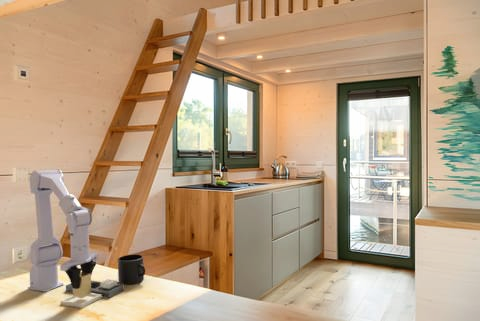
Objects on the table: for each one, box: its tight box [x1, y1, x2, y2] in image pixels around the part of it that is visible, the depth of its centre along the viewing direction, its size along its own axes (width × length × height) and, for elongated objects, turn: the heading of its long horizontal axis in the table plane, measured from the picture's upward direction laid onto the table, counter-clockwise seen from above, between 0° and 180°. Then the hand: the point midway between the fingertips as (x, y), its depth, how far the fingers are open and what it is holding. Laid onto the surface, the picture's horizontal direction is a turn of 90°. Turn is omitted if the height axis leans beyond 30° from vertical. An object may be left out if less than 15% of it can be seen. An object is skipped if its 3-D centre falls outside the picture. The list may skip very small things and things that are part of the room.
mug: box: [117, 253, 146, 285], centre depth 141 cm, size 9×12×9 cm
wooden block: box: [72, 271, 92, 298], centre depth 122 cm, size 4×4×7 cm
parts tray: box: [60, 293, 103, 309], centre depth 123 cm, size 9×9×1 cm
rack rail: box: [65, 278, 124, 299], centre depth 132 cm, size 20×7×4 cm, turn 68°
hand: (81, 285), depth 122 cm, fingers closed on wooden block, 4 cm apart
